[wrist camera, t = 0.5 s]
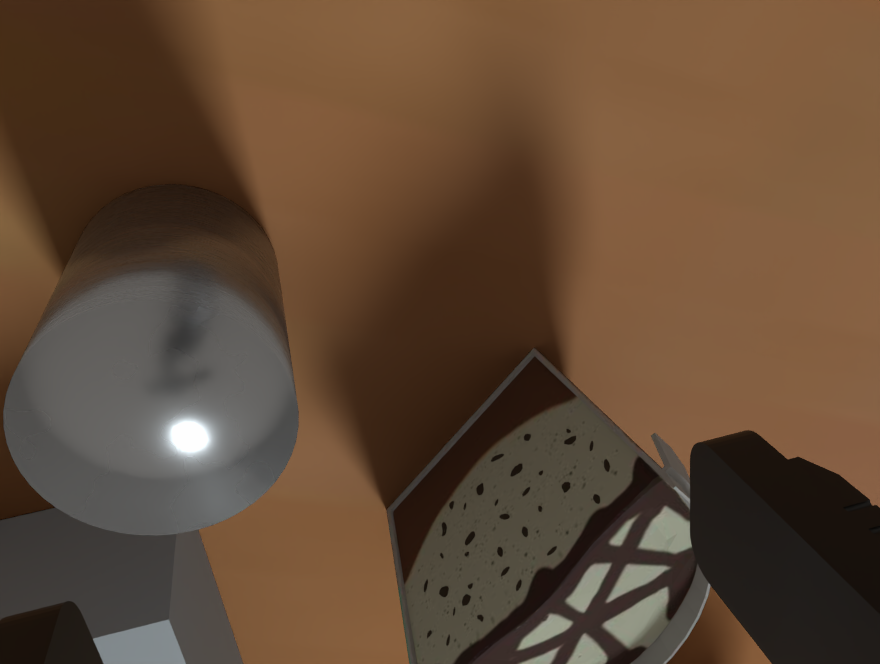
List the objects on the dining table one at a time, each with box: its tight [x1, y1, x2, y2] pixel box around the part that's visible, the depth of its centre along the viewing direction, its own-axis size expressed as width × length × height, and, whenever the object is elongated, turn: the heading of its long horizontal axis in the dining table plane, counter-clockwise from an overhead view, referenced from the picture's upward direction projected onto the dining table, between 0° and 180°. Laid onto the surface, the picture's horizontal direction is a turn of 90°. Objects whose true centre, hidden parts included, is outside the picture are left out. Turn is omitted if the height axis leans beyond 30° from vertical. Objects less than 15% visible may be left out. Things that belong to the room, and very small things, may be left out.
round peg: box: [3, 184, 298, 535], centre depth 22 cm, size 7×7×9 cm
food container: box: [387, 348, 711, 664], centre depth 29 cm, size 12×6×10 cm, turn 138°
